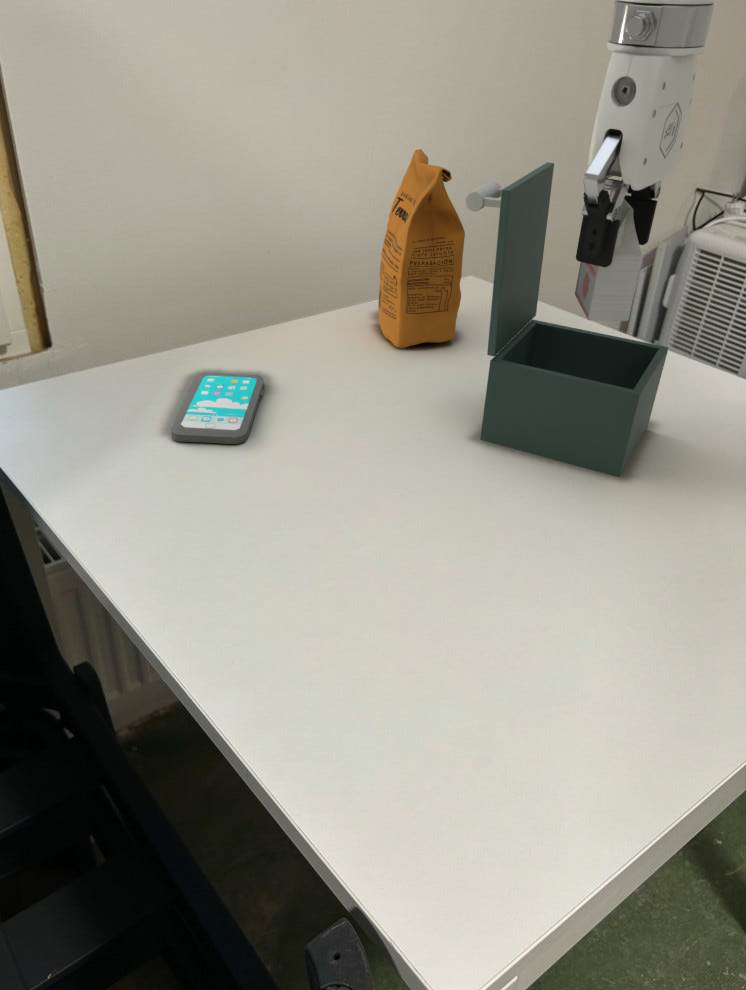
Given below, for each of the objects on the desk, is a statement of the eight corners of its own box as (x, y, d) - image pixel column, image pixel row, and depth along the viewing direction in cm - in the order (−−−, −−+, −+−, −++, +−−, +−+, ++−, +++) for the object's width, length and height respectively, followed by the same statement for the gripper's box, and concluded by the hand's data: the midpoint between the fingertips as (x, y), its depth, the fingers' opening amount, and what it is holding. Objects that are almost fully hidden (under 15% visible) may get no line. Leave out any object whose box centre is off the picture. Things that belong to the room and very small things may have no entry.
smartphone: (165, 432, 86) (195, 370, 98) (166, 440, 87) (196, 378, 99) (246, 436, 86) (267, 374, 98) (247, 444, 87) (267, 381, 99)
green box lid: (554, 162, 81) (500, 158, 83) (510, 190, 72) (450, 184, 74) (536, 315, 90) (487, 307, 92) (494, 356, 81) (441, 346, 83)
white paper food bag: (611, 295, 82) (634, 189, 76) (628, 321, 77) (653, 209, 71) (574, 294, 82) (594, 188, 76) (588, 320, 77) (610, 208, 71)
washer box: (646, 431, 90) (668, 346, 84) (617, 484, 81) (639, 394, 76) (519, 399, 96) (532, 318, 90) (479, 447, 87) (490, 360, 81)
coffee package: (439, 313, 117) (453, 145, 104) (462, 348, 108) (481, 168, 94) (370, 316, 116) (376, 146, 103) (387, 352, 106) (396, 169, 93)
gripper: (663, 41, 59) (611, 286, 69) (740, 26, 70) (685, 239, 80) (566, 33, 62) (531, 267, 73) (654, 20, 73) (612, 224, 84)
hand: (612, 251), depth 76 cm, fingers closed on white paper food bag, 7 cm apart
